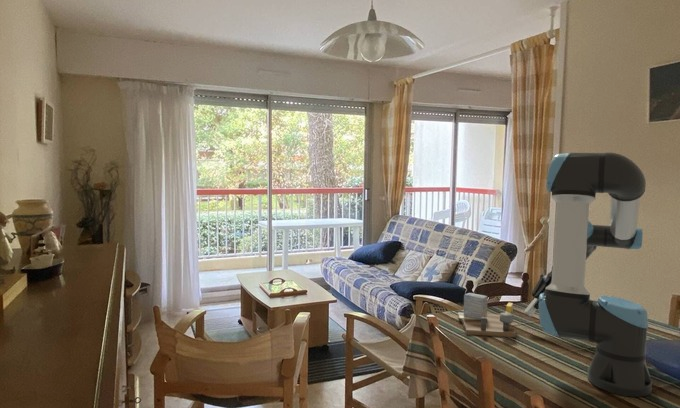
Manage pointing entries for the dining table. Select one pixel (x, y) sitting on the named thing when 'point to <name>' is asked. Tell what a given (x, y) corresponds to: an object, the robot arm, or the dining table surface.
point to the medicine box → (475, 305)
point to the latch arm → (507, 314)
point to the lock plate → (487, 326)
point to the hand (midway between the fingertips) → (527, 313)
